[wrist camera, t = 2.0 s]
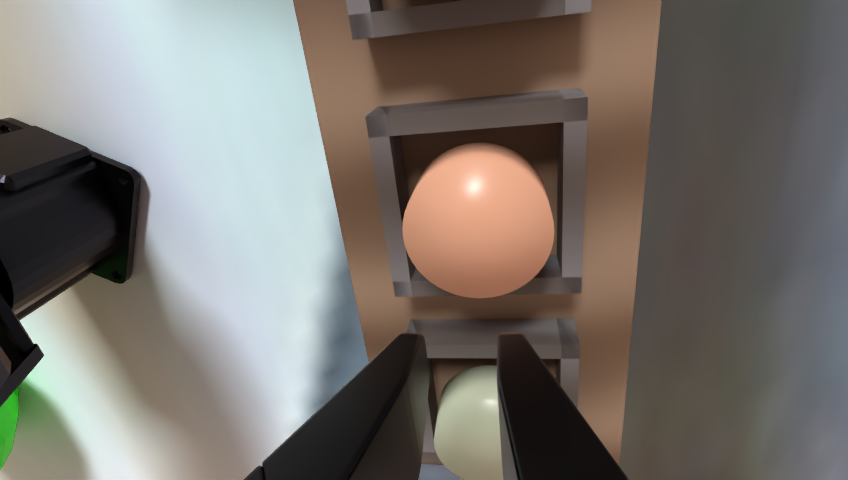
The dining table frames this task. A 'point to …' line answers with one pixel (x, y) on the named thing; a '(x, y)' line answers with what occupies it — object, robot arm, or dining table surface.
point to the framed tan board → (506, 126)
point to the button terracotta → (479, 221)
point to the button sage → (470, 425)
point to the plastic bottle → (8, 425)
